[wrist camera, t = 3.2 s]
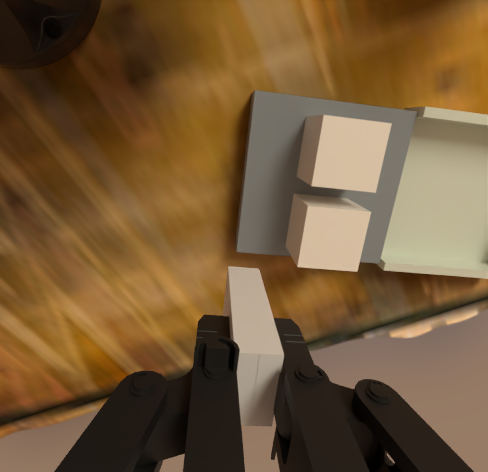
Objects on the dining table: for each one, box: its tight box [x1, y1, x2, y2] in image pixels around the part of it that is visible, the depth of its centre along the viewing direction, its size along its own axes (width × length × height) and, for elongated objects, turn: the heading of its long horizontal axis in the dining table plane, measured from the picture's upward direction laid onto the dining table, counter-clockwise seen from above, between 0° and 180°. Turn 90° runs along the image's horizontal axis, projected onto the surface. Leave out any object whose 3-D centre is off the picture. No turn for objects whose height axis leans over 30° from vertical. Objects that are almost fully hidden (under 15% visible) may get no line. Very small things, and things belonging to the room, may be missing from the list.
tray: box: [376, 107, 488, 279], centre depth 33 cm, size 14×15×3 cm
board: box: [235, 90, 417, 264], centre depth 31 cm, size 14×14×2 cm
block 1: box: [297, 115, 392, 193], centre depth 27 cm, size 5×5×5 cm
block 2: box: [285, 193, 371, 272], centre depth 29 cm, size 5×5×5 cm
